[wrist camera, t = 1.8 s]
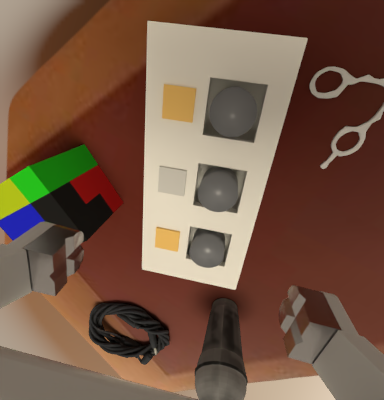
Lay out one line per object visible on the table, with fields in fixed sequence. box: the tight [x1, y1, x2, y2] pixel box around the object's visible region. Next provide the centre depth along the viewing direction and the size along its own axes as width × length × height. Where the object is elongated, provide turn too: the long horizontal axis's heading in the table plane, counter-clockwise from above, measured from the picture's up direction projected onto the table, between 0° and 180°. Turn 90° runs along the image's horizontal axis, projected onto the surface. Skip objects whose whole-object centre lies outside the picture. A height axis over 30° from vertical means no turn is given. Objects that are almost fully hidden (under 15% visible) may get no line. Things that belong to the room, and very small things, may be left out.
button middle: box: [198, 166, 238, 212], centre depth 27 cm, size 4×4×4 cm
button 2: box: [189, 228, 225, 268], centre depth 31 cm, size 4×4×4 cm
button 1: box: [209, 87, 257, 137], centre depth 23 cm, size 4×4×4 cm
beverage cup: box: [195, 298, 248, 400], centre depth 34 cm, size 7×7×20 cm
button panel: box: [142, 21, 308, 290], centre depth 29 cm, size 14×30×5 cm, turn 174°
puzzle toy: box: [0, 144, 123, 242], centre depth 32 cm, size 10×10×10 cm
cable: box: [89, 303, 169, 365], centre depth 48 cm, size 17×14×4 cm
